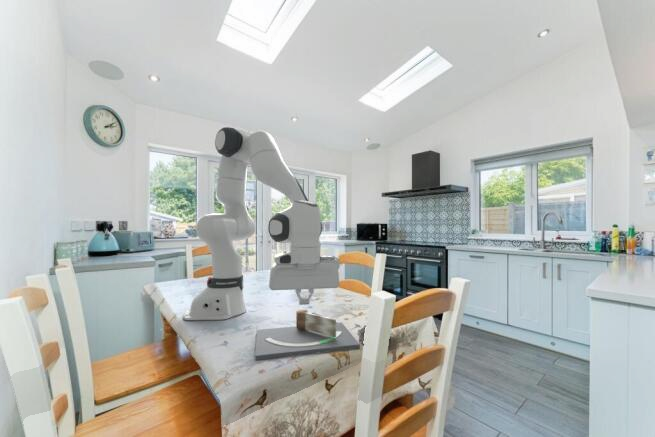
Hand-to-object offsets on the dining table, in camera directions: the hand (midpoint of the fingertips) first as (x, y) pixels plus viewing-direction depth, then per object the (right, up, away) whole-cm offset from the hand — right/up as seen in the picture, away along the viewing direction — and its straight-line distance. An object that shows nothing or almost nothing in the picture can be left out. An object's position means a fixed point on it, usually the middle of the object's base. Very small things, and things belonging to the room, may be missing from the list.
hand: (304, 304), depth 79 cm
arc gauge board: (0, -11, +2) cm, 12 cm away
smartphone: (+3, -13, +20) cm, 23 cm away
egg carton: (+21, -12, +3) cm, 24 cm away
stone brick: (+3, -10, +5) cm, 11 cm away
